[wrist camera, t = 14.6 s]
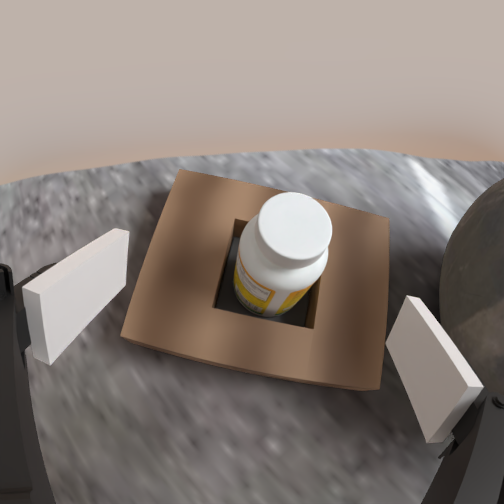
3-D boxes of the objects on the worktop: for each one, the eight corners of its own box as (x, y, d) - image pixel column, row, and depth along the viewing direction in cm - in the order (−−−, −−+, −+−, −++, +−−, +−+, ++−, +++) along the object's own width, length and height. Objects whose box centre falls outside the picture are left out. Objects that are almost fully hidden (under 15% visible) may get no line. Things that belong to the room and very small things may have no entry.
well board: (375, 234, 29) (389, 218, 26) (362, 390, 23) (379, 389, 20) (182, 189, 29) (179, 169, 26) (131, 342, 23) (120, 335, 20)
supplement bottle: (230, 315, 24) (238, 267, 15) (235, 250, 26) (245, 176, 18) (301, 320, 24) (347, 276, 16) (301, 256, 27) (340, 188, 18)
